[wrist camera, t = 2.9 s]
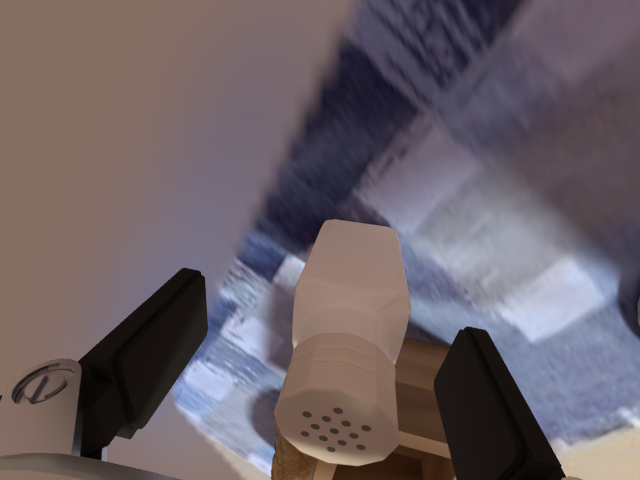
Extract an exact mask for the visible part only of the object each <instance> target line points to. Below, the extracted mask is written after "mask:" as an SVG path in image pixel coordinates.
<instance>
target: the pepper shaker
mask: <svg viewBox="0 0 640 480" xmlns="http://www.w3.org/2000/svg"><path fill="white" fill-rule="evenodd" d="M410 312H411V303H410V297H409V292H408V287H407V281H406V276H405V271H404V265H403V260H402V254H401V249H400V244H399V239H398V234H397V231H396V230H394V229H392V228H390V227H386V226H379V225H372V224H365V223H358V222H351V221H344V220H337V219H332V220H327V221H325V222H324V224H323V226H322V227H321V229H320V232H319V234H318V236H317V239H316V241H315V243H314V246H313V248H312V250H311V253H310V255H309V257H308V260H307V262H306V264H305V267H304V269H303V271H302V273H301V276H300V278H299V280H298V283H297V285H296V289H295V299H294V309H293V325H292V343H293V347H294V350H293V354H292V358H291V361H290V364H289V367H288V370H287V374H286V377H285V380H284V383H283V387H282V389H281V392H280V395H279V398H278V401H277V404H276V407H275V410H274V417H275V420H276V423H277V425H278V428H279V431H280V433H281V435H282V436H283V437H284V438H285V439H287V440H288V441H289V442H290V443H291V444H292V445H294V446H295V447H296V448H297V449H298V450H299V451H301V452H303V453H305V454H308V455H310V456H313V457H315V458H318V459H320V460H323V461H325V462H328V463H334V464H344V465H353V466H360V465H365V464H369V463H373V462H378V461H382V460H384V459H385V458H386V457H387V456H388V455H389V454H390V453H391V452H392V451H393V450H394V449H395V448H396V447H397V446H398V445H399V430H398V417H397V404H396V391H395V375H396V370H395V366H394V365H395V363H396V360H397V358H398V356H399V353H400V350H401V347H402V344H403V340H404V336H405V333H406V329H407V325H408V320H409V316H410Z"/></svg>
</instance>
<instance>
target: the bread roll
mask: <svg viewBox="0 0 640 480" xmlns="http://www.w3.org/2000/svg"><path fill="white" fill-rule="evenodd" d="M276 433H277V434H278V435H279V436H278V438H277V440H276V443H275V454H274V456H273V462H272V470H271V480H312V477H313V471H314V465H315V459H316V458H315V457H313V456H310V455H308V454H305V453H303V452H301V451H299V450H298V449H297V448H296V447H295V446H294V445H292V444H291V443H290V442H289V441H288V440H287V439H285V438H284V437H283V436H282V435H281V433H280V431H279V428H278V425H276Z"/></svg>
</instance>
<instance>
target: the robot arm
mask: <svg viewBox="0 0 640 480" xmlns="http://www.w3.org/2000/svg"><path fill="white" fill-rule="evenodd" d="M638 323H639V326H640V297H639V301H638ZM207 331H208V323H207V305H206V288H205V277H204V276H202V275H201V272H200V271H198V270H193V269H188V268H182V269H181V270H180V271H179V272H177V273H176V274H175V275H174V276H173V277H172V278H171V279H170V280H168V281H167V282H166V283H165V284H164V285H163V286H162V287H161V288H160V289H158V290H157V291H156V292H155V293H154V294H153V295H152V296H151V297H150V298H148V299H147V300H146V301H145V302H144V303H143V304H141V305H140V306H139V307H138V308H137V309H136V310H135V311H134V312H133V313H131V314H130V315H129V316H128V317H127V318H126V319H125V320H124V321H122V322H121V323H120V324H119V325H118V326H117V327H116V328H115V329H114V330H112V331H111V332H110V333H109V334H108V335H107V336H106V337H105V338H104V339H103V340H101V341H100V342H99V343H98V344H97V345H96V346H95V347H93V349H91V350H90V351H89V352H88V353H87V354H86V355H85V356H84V357H82V358H81V359H80V360H79V361H78V362H77V361H75V360H72V359H55V360H50V361H47V362H44V363H41V364H38V365H36V366H34V367H32V368H31V369H29V370H27V371H25V372H24V373H22V374H21V375H20V376H18V377H17V378H15V379H14V380H13V382H12V383H11V384H10V385H9V386H8V387H7V389H6V390H5V392H4V394H3V395H1V396H0V480H181V479H178V478H174V477H170V476H166V475H161V474H158V473H154V472H150V471H145V470H141V469H136V468H132V467H127V466H123V465H118V464H114V463H110V462H106V459H107V446H108V445H109V444H110V442H111V441H112V440H113V438H114V437H115V436H119V437H123V438H127V439H131V438H132V437H133V435H134V434H135V432H136V431H137V429H142V428H143V427H144V426H145V425H146V424H147V423H148V421H149V420H150V418H151V417H152V415H153V414H154V412H155V411H156V409H157V408H158V406H159V405H160V404H161V402H162V400H163V399H164V397H165V396H166V395H167V393H168V392H169V390H170V389H171V387H172V386H173V384H174V383H175V381H176V380H177V379H178V377H179V376H180V374H181V373H182V371H183V370H184V368H185V367H186V365H187V364H188V362H189V361H190V359H191V358H192V356H193V355H194V354H195V352H196V351H197V349H198V348H199V346H200V345H201V343H202V342H203V340H204V339H205V337H206V335H207ZM434 392H435V396H436V400H437V404H438V408H439V412H440V416H441V420H442V424H443V428H444V432H445V436H446V440H447V444H448V448H449V452H450V456H451V460H452V464H453V468H454V472H455V475H456V479H457V480H582V479H580V478H577V477H570V476H568V477H566V476H565V474H564V472H563V470H562V468H561V464H560V462H559V461H558V459H557V457H556V455H555V453H554V452H553V450H552V448H551V446H550V444H549V443H548V441H547V439H546V437H545V435H544V433H543V432H542V430H541V428H540V426H539V424H538V423H537V421H536V419H535V417H534V415H533V414H532V412H531V410H530V408H529V406H528V404H527V403H526V401H525V399H524V397H523V395H522V394H521V392H520V390H519V388H518V386H517V385H516V383H515V381H514V379H513V377H512V376H511V374H510V372H509V370H508V368H507V366H506V365H505V363H504V361H503V359H502V357H501V356H500V354H499V352H498V350H497V348H496V347H495V345H494V343H493V341H492V339H491V338H490V336H489V334H488V332H487V331H485V330H483V329H478V328H473V327H466V328H465V329H464V330H459V332H458V334H457V336H456V338H455V340H454V342H453V344H452V345H451V347H450V349H449V351H448V353H447V355H446V357H445V359H444V361H443V363H442V365H441V367H440V369H439V371H438V373H437V375H436V377H435V379H434Z"/></svg>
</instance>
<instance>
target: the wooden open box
mask: <svg viewBox="0 0 640 480" xmlns="http://www.w3.org/2000/svg"><path fill="white" fill-rule="evenodd" d="M449 349H450V348H447V347H443V346H438V345H434V344H430V343H426V342H422V341H417V340H413V339H409V338H405V337H404V340H403V344H402V347H401V350H400V353H399V356H398V358H397V360H396V363H395V365H394V366H395V370H396V375H395V391H396V404H397V417H398V430H399V445H398V446H397V447H396V448H395V449H394V450H393V451H392V452H391V453H390V454H389V455H388V456H387V457H386V458H385V459H384V460H382V461H378V462H373V463H369V464H365V465H360V466H353V465H344V464H334V463H328V462H325V461H323V460H320V459H318V458H316V459H315V465H314V471H313V477H312V480H457V479H456V475H455V472H454V468H453V464H452V460H451V456H450V452H449V448H448V444H447V440H446V436H445V432H444V428H443V424H442V420H441V416H440V412H439V408H438V404H437V400H436V396H435V392H434V379H435V377H436V375H437V373H438V371H439V369H440V367H441V365H442V363H443V361H444V359H445V357H446V355H447V353H448V351H449Z"/></svg>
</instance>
